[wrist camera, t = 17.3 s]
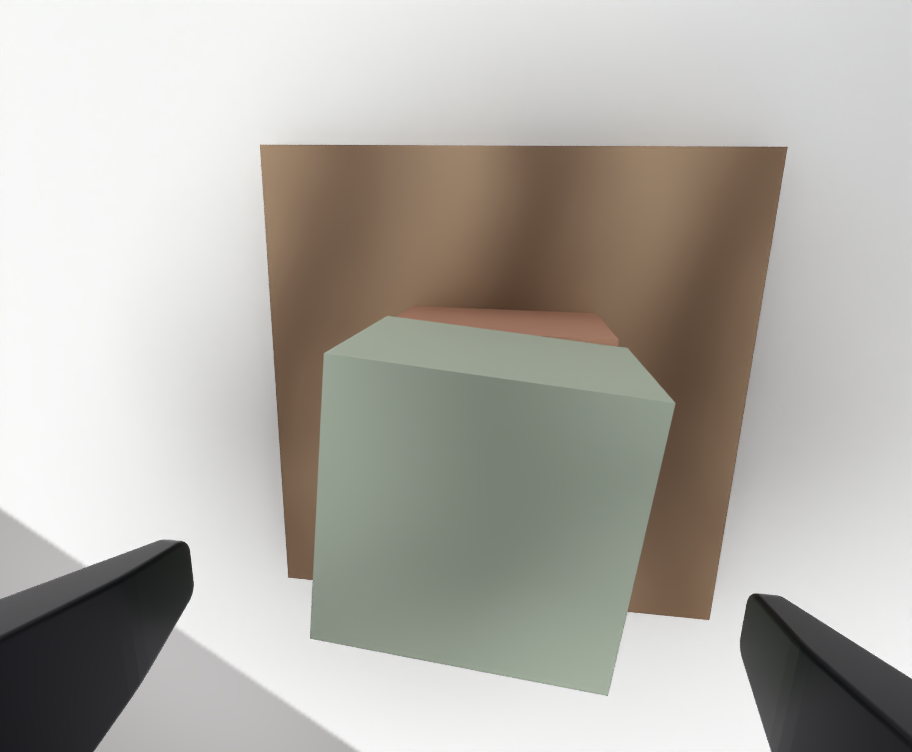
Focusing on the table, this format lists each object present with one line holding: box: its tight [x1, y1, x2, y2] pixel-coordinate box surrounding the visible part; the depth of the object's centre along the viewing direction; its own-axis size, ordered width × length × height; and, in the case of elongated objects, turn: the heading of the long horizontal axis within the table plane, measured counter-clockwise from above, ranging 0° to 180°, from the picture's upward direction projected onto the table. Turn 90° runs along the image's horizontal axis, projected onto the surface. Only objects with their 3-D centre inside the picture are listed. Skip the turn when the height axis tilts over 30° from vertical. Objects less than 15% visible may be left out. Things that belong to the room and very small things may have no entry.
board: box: [260, 145, 787, 620], centre depth 19 cm, size 16×16×1 cm
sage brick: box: [310, 316, 675, 696], centre depth 12 cm, size 6×6×4 cm
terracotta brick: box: [397, 306, 619, 347], centre depth 17 cm, size 6×6×4 cm
